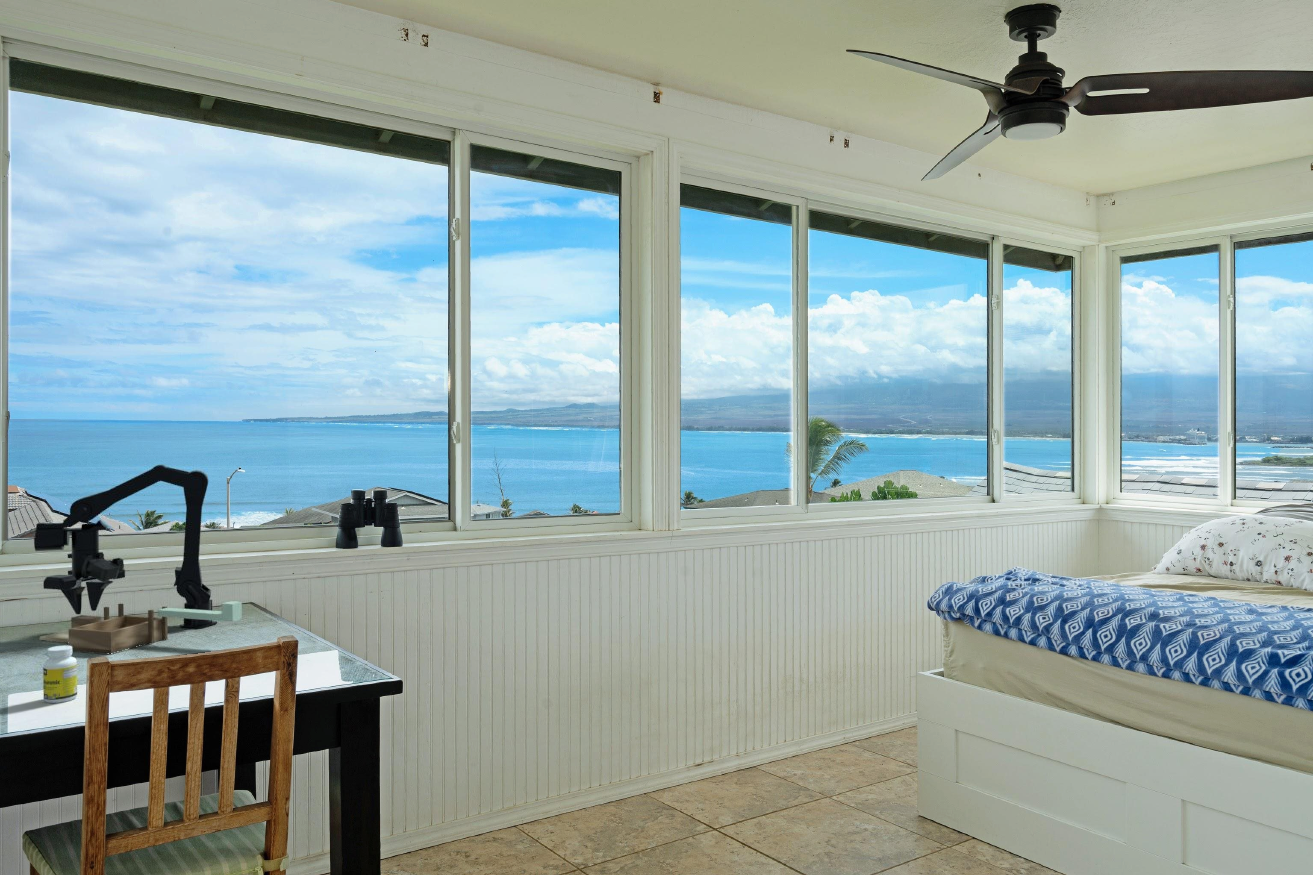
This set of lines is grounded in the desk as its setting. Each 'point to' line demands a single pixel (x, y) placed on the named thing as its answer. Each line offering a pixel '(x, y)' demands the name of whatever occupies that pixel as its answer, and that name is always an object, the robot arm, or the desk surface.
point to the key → (206, 613)
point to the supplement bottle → (60, 675)
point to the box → (118, 632)
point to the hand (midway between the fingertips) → (86, 612)
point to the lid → (75, 622)
